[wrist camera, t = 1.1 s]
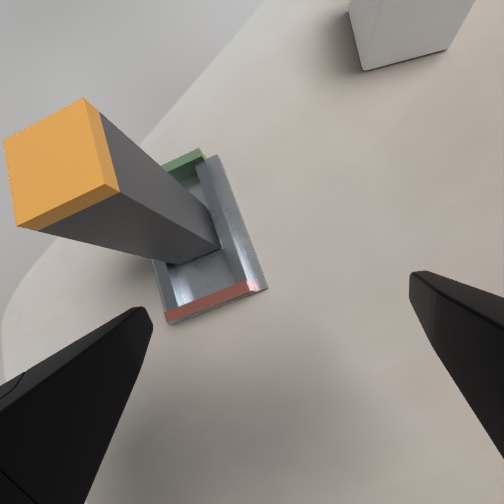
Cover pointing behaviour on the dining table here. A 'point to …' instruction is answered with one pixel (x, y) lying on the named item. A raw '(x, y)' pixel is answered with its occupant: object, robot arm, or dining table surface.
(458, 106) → the dining table surface
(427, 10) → the medicine bottle
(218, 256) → the grey rectangular tray
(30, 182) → the block
